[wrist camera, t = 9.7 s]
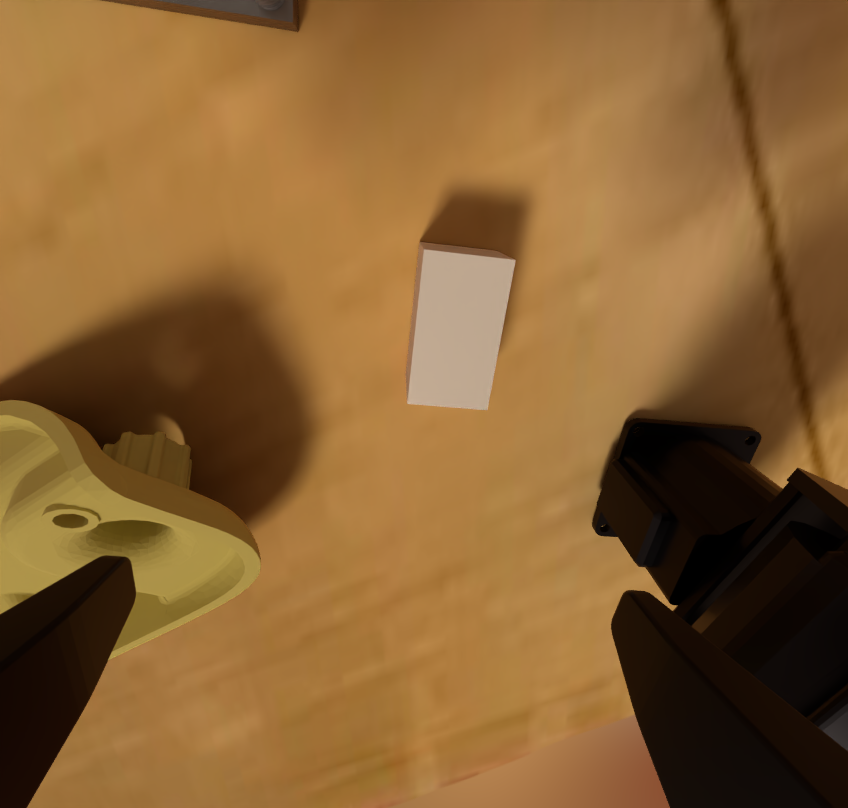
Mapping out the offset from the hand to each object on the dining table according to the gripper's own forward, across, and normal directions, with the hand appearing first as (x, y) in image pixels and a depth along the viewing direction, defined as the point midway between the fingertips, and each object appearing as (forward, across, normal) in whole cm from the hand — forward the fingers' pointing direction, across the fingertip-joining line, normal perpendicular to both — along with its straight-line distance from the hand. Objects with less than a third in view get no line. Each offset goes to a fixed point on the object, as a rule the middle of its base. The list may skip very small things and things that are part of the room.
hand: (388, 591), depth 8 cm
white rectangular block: (+12, -2, -3) cm, 12 cm away
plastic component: (+12, +14, +10) cm, 21 cm away
